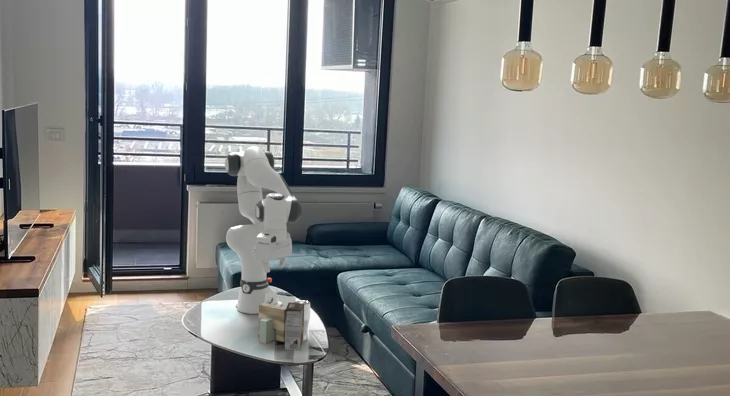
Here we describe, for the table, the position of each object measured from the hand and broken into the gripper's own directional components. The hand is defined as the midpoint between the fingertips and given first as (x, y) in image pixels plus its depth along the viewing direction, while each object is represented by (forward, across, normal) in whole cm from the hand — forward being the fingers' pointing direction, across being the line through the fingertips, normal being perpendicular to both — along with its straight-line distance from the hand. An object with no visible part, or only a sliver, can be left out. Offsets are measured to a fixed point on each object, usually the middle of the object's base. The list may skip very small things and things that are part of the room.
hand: (274, 269), depth 272 cm
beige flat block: (+28, 0, 0) cm, 28 cm away
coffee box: (+28, +3, +12) cm, 31 cm away
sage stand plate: (+28, 0, 0) cm, 28 cm away
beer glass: (+28, -5, +10) cm, 30 cm away
